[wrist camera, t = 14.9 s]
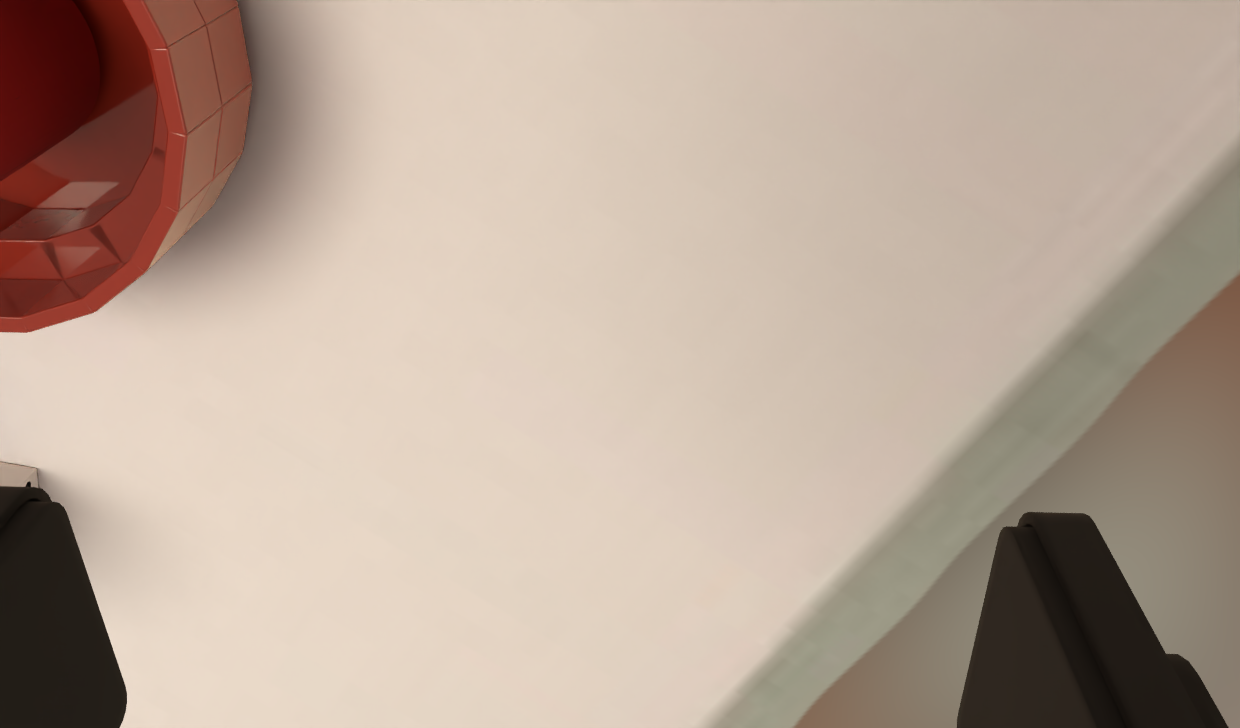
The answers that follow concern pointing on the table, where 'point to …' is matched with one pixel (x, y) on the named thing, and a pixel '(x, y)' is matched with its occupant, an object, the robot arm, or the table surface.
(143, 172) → the bowl
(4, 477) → the walkman
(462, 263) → the table surface
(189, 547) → the table surface
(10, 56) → the beverage can
